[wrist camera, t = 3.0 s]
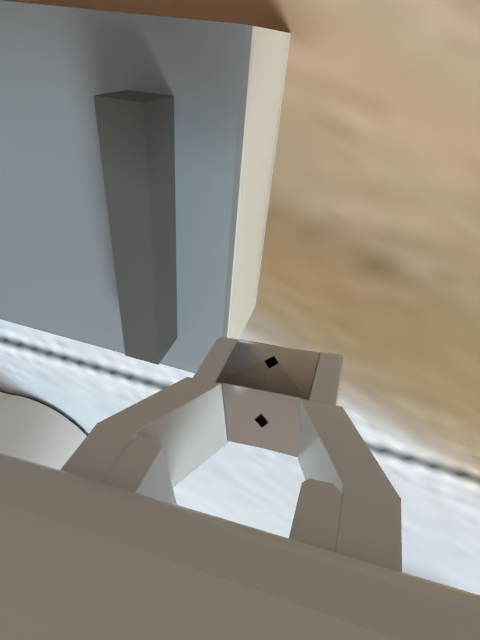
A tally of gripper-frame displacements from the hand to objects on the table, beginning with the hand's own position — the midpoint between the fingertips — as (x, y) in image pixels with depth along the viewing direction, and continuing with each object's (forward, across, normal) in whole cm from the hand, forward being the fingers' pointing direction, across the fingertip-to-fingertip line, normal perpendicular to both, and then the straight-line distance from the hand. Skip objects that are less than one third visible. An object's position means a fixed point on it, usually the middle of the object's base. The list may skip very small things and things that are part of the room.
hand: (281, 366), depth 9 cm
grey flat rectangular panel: (+6, +13, -2) cm, 15 cm away
